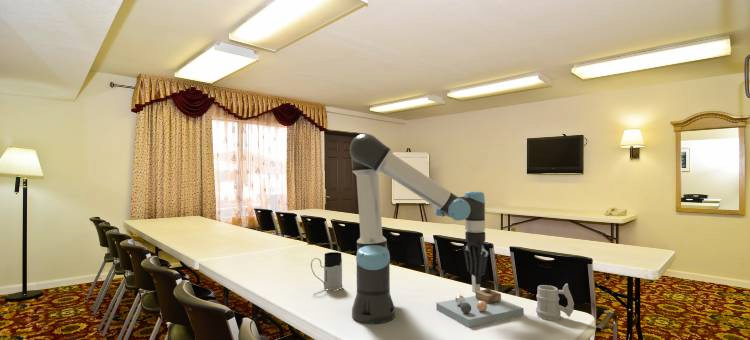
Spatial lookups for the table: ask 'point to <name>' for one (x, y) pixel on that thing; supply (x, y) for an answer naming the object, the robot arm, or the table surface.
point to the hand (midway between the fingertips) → (476, 291)
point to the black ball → (465, 307)
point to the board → (476, 317)
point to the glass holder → (332, 271)
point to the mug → (552, 302)
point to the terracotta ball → (481, 306)
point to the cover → (488, 295)
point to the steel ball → (459, 300)
